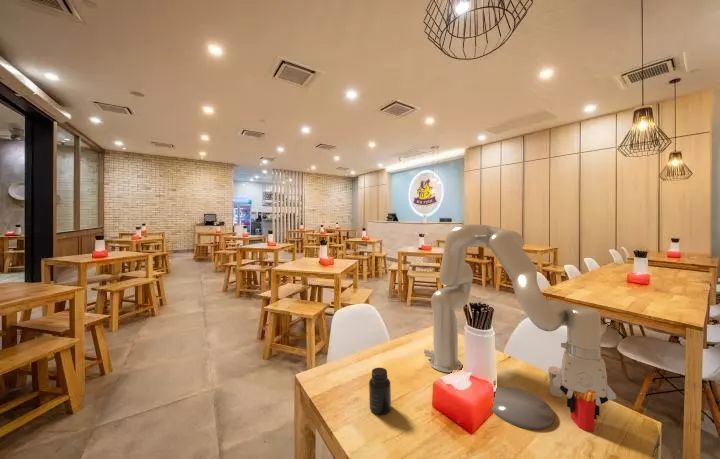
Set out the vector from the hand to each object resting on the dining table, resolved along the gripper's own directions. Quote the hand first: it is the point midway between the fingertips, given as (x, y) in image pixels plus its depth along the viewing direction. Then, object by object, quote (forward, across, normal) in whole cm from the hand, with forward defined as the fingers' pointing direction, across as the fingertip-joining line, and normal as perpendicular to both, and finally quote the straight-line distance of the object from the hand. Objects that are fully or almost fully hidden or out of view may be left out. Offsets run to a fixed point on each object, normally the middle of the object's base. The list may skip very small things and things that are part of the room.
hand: (582, 412), depth 81 cm
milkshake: (+4, -5, +13) cm, 14 cm away
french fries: (+4, 0, 0) cm, 4 cm away
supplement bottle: (+4, -53, -25) cm, 59 cm away
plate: (+3, -16, -2) cm, 16 cm away
